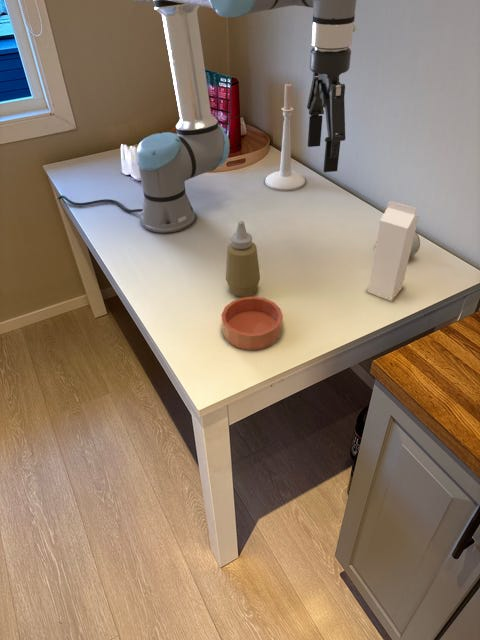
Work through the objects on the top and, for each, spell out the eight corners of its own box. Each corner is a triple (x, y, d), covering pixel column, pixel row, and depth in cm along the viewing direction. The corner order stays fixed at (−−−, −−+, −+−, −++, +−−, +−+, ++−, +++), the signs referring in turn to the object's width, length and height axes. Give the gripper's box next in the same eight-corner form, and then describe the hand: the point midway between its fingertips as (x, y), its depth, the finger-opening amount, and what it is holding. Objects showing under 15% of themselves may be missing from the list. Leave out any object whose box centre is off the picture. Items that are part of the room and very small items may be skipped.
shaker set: (149, 180, 161) (144, 147, 154) (138, 184, 159) (133, 151, 152) (132, 169, 169) (126, 137, 161) (121, 173, 167) (115, 140, 159)
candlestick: (278, 170, 165) (281, 74, 145) (312, 179, 159) (319, 80, 139) (257, 184, 157) (257, 85, 137) (291, 194, 151) (296, 91, 131)
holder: (210, 333, 103) (209, 319, 101) (246, 303, 111) (246, 289, 108) (258, 358, 97) (258, 344, 95) (292, 324, 105) (293, 310, 102)
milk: (378, 280, 116) (394, 194, 102) (402, 288, 113) (422, 202, 99) (366, 292, 112) (382, 206, 98) (391, 301, 110) (411, 214, 95)
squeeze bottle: (257, 302, 111) (256, 233, 99) (222, 298, 112) (218, 230, 101) (262, 281, 117) (263, 214, 105) (230, 278, 118) (226, 211, 107)
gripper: (373, 62, 82) (356, 181, 96) (332, 32, 100) (323, 135, 114) (329, 65, 81) (319, 184, 95) (296, 34, 100) (292, 138, 114)
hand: (321, 158), depth 105 cm, fingers open, 13 cm apart
